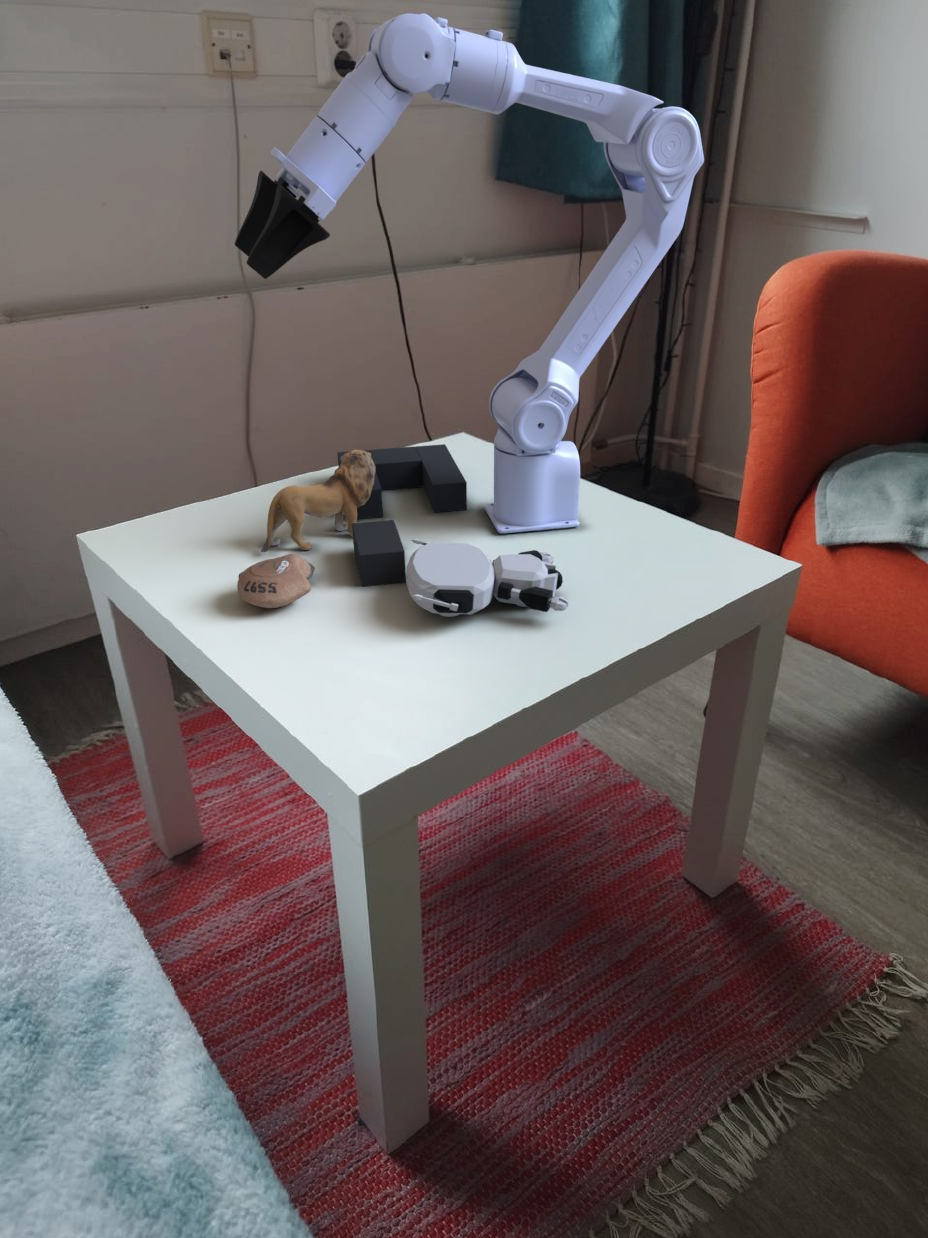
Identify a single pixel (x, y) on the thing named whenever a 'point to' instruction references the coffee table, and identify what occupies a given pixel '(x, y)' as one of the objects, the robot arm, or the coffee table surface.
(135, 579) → the coffee table surface
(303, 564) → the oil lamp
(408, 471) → the notched pad
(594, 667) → the coffee table surface
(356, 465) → the lion figurine
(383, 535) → the black block
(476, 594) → the robot toy
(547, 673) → the coffee table surface
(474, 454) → the coffee table surface
